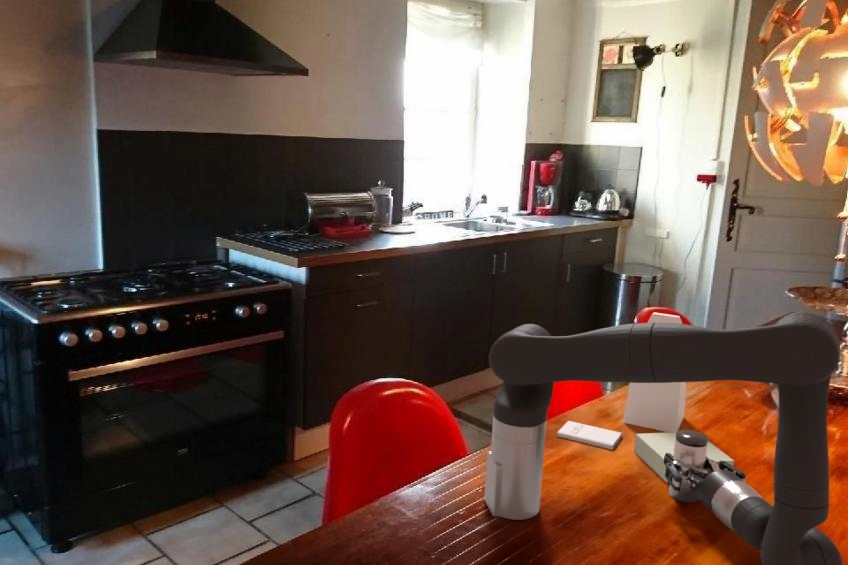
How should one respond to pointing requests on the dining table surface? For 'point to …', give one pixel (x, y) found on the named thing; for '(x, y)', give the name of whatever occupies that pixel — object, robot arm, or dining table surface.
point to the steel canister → (689, 459)
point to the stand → (667, 450)
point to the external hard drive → (590, 435)
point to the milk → (657, 397)
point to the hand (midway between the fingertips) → (681, 457)
